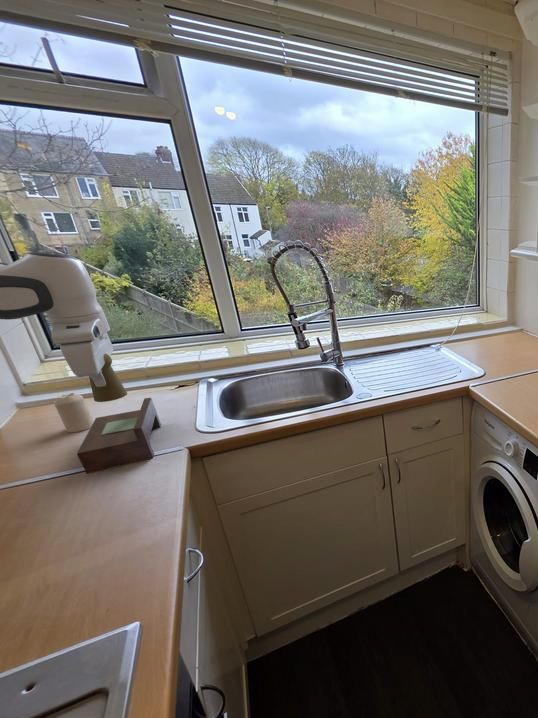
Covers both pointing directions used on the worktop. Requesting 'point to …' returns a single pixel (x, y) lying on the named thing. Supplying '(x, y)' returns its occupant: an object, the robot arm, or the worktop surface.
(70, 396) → the candle
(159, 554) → the worktop surface
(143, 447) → the brown block
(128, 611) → the worktop surface
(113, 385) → the cork
